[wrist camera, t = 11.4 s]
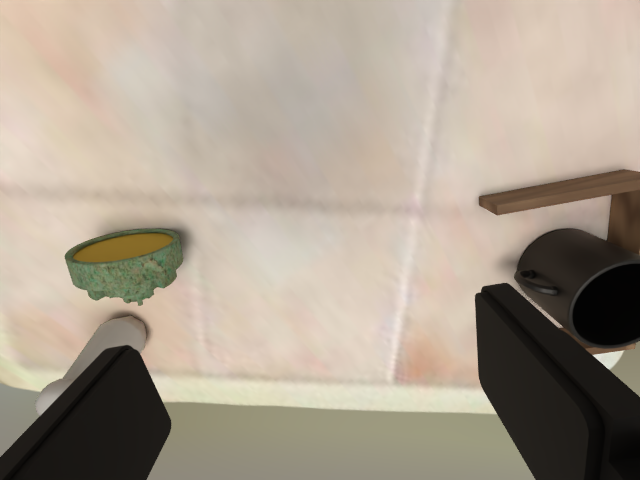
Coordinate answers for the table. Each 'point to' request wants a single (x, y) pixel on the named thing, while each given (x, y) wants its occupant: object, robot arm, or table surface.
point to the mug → (585, 286)
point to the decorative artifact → (126, 264)
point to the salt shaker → (96, 354)
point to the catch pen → (624, 185)
